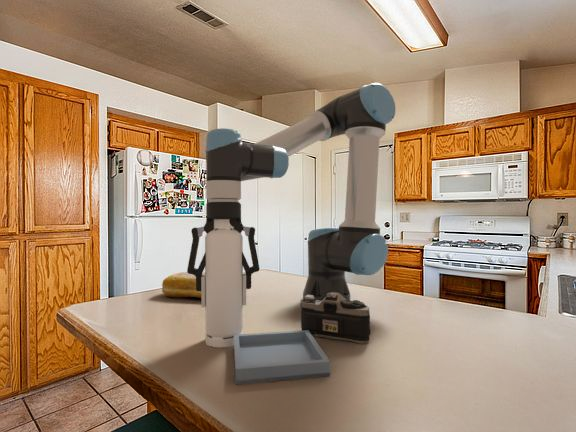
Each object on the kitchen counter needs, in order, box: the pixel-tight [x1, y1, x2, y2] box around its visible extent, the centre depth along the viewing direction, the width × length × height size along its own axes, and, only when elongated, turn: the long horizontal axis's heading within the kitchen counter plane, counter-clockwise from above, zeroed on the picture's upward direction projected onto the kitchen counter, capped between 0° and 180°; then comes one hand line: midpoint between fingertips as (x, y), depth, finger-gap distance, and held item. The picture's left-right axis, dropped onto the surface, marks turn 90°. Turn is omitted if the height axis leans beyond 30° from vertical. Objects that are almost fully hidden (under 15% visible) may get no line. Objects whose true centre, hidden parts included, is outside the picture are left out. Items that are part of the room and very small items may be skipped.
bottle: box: [204, 219, 244, 348], centre depth 74 cm, size 8×8×28 cm
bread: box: [161, 271, 205, 299], centre depth 115 cm, size 13×26×8 cm, turn 78°
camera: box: [300, 292, 371, 345], centre depth 79 cm, size 16×10×10 cm, turn 66°
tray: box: [233, 330, 331, 385], centre depth 64 cm, size 16×16×2 cm
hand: (224, 304), depth 74 cm, fingers closed on bottle, 8 cm apart
